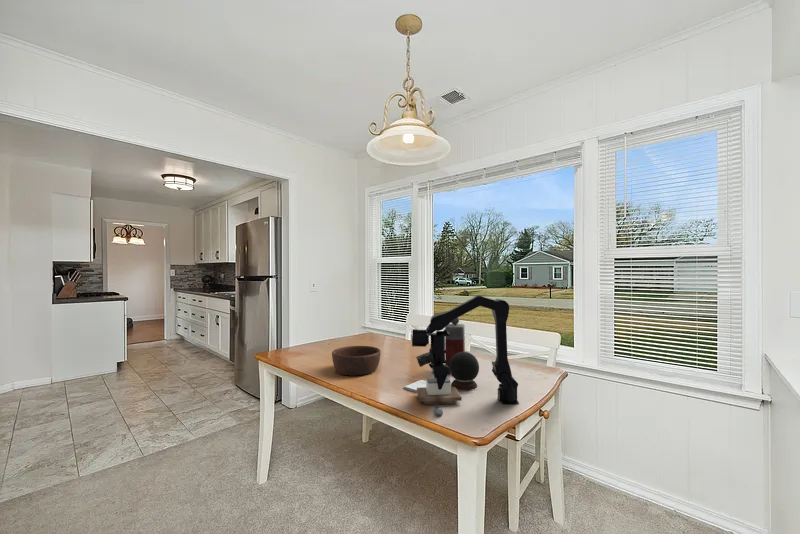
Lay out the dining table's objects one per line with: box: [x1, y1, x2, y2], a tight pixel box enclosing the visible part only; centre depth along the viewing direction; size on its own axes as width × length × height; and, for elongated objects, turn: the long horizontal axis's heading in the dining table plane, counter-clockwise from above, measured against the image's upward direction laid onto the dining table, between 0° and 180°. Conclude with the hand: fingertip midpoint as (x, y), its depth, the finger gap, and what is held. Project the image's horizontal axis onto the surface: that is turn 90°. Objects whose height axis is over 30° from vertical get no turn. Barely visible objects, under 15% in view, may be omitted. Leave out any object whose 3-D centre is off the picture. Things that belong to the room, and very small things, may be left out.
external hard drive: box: [403, 379, 426, 394], centre depth 153 cm, size 2×8×12 cm
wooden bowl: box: [331, 345, 382, 377], centre depth 179 cm, size 25×25×10 cm
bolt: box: [434, 404, 444, 417], centre depth 125 cm, size 6×3×3 cm, turn 2°
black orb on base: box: [449, 351, 480, 391], centre depth 154 cm, size 13×13×15 cm
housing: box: [425, 377, 452, 395], centre depth 137 cm, size 9×5×5 cm, turn 94°
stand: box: [416, 386, 462, 405], centre depth 137 cm, size 16×12×3 cm
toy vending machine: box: [444, 317, 466, 367], centre depth 178 cm, size 9×11×28 cm
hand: (438, 386), depth 137 cm, fingers open, 8 cm apart
